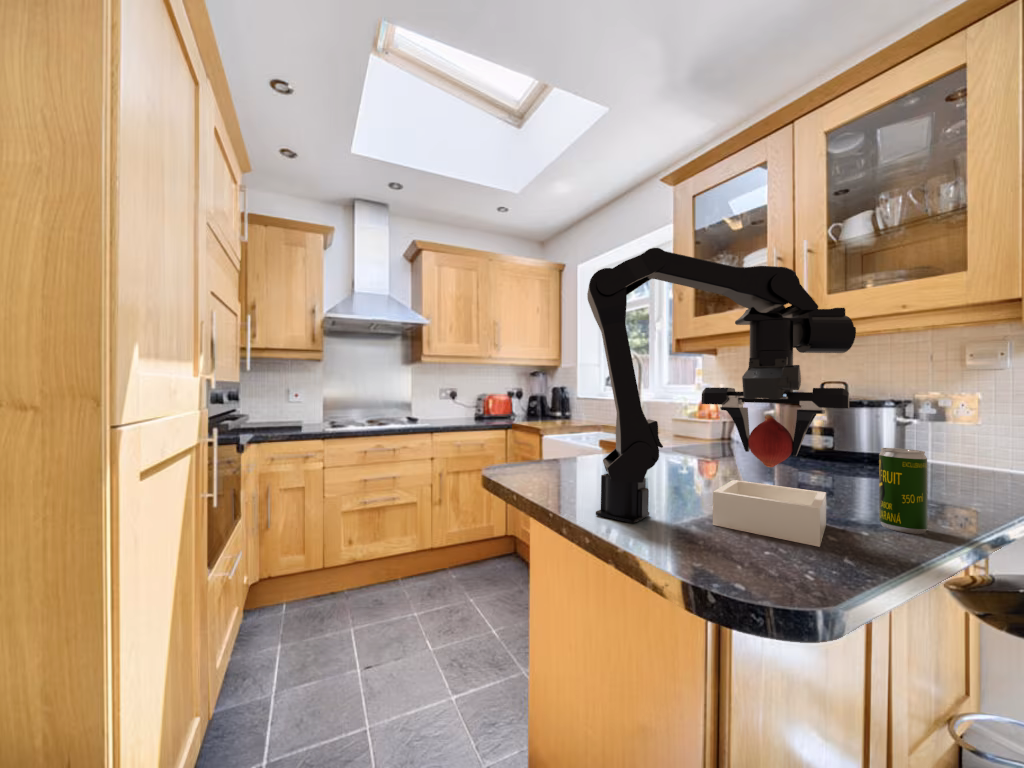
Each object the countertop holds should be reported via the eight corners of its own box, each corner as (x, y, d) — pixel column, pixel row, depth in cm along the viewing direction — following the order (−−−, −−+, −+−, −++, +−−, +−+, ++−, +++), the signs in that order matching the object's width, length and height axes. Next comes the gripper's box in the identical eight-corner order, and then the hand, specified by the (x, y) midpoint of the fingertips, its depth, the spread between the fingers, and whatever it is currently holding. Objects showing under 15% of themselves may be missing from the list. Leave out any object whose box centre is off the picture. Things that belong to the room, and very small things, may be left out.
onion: (785, 465, 65) (785, 415, 65) (799, 471, 59) (799, 416, 60) (744, 463, 66) (744, 413, 67) (754, 469, 61) (754, 415, 61)
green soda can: (901, 523, 66) (901, 448, 66) (938, 534, 60) (937, 452, 61) (869, 523, 65) (869, 447, 66) (904, 534, 60) (903, 451, 60)
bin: (712, 524, 62) (713, 491, 62) (732, 508, 72) (733, 479, 72) (819, 546, 54) (819, 508, 54) (826, 524, 64) (826, 492, 64)
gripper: (691, 350, 63) (690, 451, 63) (846, 342, 51) (846, 467, 51) (711, 357, 72) (710, 446, 71) (849, 351, 60) (849, 458, 59)
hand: (770, 453), depth 63 cm, fingers closed on onion, 6 cm apart
